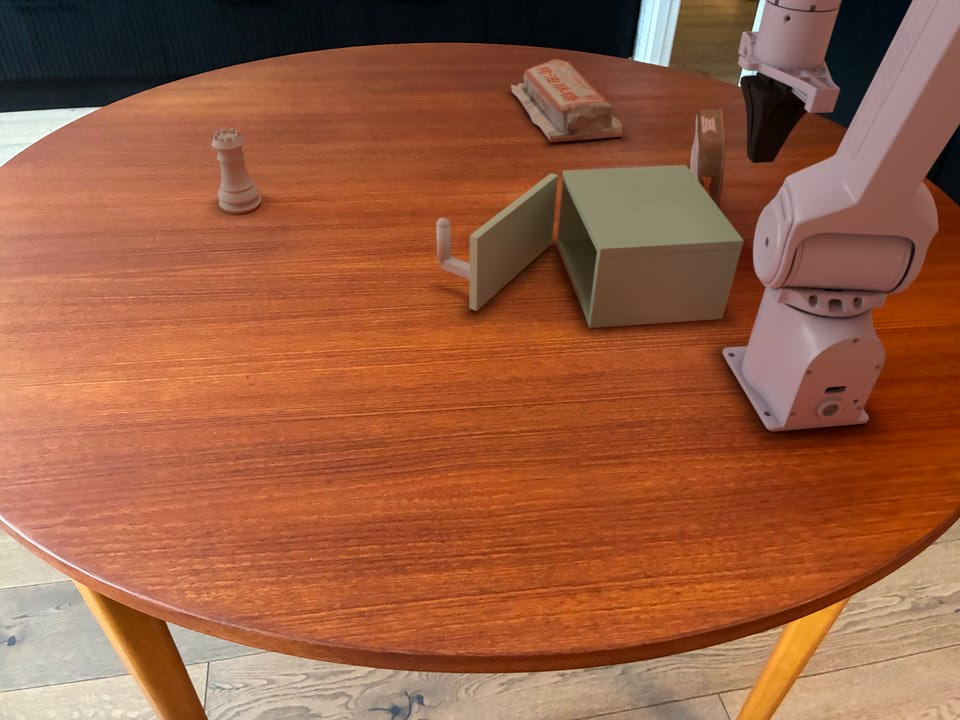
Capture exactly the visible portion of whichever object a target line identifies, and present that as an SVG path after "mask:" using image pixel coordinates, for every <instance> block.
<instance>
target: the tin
mask: <svg viewBox="0 0 960 720" xmlns="http://www.w3.org/2000/svg"><path fill="white" fill-rule="evenodd" d="M694 120H695V129H694V136H693V143H692V145H691V149H690V157H689V170H690V171H691V172H692V174H693V175H694V176H695V178H696V179H697V180H698V181H699V183H700V184H701V185H702V187H703V188H704V189H705V191H706V192H707V193H708V195H709V196H710V197H711V198H712V200H713V201H714V202H715V204H716V205H717V206H718V207H719V204H720V200H721V194H722V187H723V180H724V173H725V160H726V134H725V124H724V114H723V108H721V107H720V108H699V109H697V110H696V114H695V118H694Z"/></svg>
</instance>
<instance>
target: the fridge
mask: <svg viewBox="0 0 960 720" xmlns="http://www.w3.org/2000/svg"><path fill="white" fill-rule="evenodd" d="M560 185H561V186H560V195H559V196H560V197H559V207H558V219H557V229H556V241H555V246H556V247H557V250H558V253H559V255H560V257H561V260H562V262H563V265H564V267H565V270H566V273H567V274H568V278H569V281H570V282H571V284H572V287H573V290H574V292H575V294H576V297H577V300H578V301H579V302H578V303H579V305H580V307H581V310H582V312H583V315H584V318H585V321H586V322H587V325H588V327H589V329H598V328H599V329H600V328H612V327H627V326H640V325H641V326H643V325H655V324H658V325H659V324H672V323H685V322H699V321H714V320H722V319H724V318H723V317H724V314H725V310H726V306H727V303H728V299H729V296H730V292H731V288H732V284H733V281H734V278H735V274H736V270H737V266H738V262H739V260H740V256H741V253H742V252H741V251H742V248H743V245H744V239H743V238H742V236H741V234H739V232H738V231H737V230H736V228H735V227H734V226H733V224H732V223H731V222H730V220H729V219H728V218H727V217H726V215H725V214H724V212H723V211H722V210H721V209H720V207H719V205H718V206H717V205H716V204H715V202H714V201H713V200H712V198H711V197H710V196H709V195H708V193H707V192H706V191H705V189H704V188H703V187H702V185H701V184H700V183H699V181H698V180H697V179H696V178H695V176H694V175H693V174H692V172H691V171H690V167H688V166H687V165H686V164H675V165H671V164H670V165H651V166H650V165H649V166H629V167H609V168H588V169H586V168H585V169H567V170H566V169H565V170H562V175H561V184H560Z"/></svg>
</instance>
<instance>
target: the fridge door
mask: <svg viewBox="0 0 960 720" xmlns="http://www.w3.org/2000/svg"><path fill="white" fill-rule="evenodd" d="M558 180H559V175H558V174H555V173H552V172H550V173H549V174H547V176H545V177H543V179H541V180H540V181H539V182H537V183H536V184H535V185H534V186H532V187H530V189H528V190H527V191H526V192H524V193H523V194H522V195H520V196H519V197H518V198H516V199H515V200H513V202H511V203H510V204H508V205H507V206H506V207H505V208H503V209H502V210H501V211H500V212H498V213H497V214H496V215H494V216H493V217H492V218H490V219H489V220H488V221H486V222H485V223H484V224H483V225H481V226H480V227H479V228H478V229H476V230H475V231H473V233H471V234H470V235H469V262H467V261H464V260H462V259H459V258H457V257H454V256H451V222H450V220H449V219H448V218H447V217H440V218H438V219H437V220H436V223H435V228H436V230H435V231H436V260H437V263H438V264H439V265H440V269H441V270H443V271H446V272H449V273H451V274H454V275H456V276H459V277H462V278H463V279H467V280H469V293H468V294H469V295H468V296H469V298H468V299H469V300H468V301H469V302H468V303H469V305H468V306H469V309H470V310H473V311H475V312H478V310H480V309H481V308H482V307H484V305H485V304H486V303H487V302H489V301H490V300H492V298H493V297H494V296H496V295H497V294H498V293H499V292H500V291H501V290H502V289H503V288H504V287H505V286H507V284H509V283H510V282H511V281H512V280H513V279H514V278H515V277H516V276H517V275H519V274H520V273H521V272H522V271H523V270H524V269H525V268H527V266H529V265H530V264H531V263H532V262H533V261H534V260H536V259H537V257H539V256H540V255H541V254H542V253H544V251H545V250H546V249H548V248H549V247H550V246H551V245H552V244H553V238H554V225H555V215H556V204H557V193H558Z"/></svg>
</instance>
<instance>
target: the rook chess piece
mask: <svg viewBox="0 0 960 720" xmlns="http://www.w3.org/2000/svg"><path fill="white" fill-rule="evenodd" d="M212 136H213V139H212V141H211V144H210V145H211V146H212V148H213V149H214V150H215V151H217V156H216V160H217V161H218V162H219V166H220V177H221V178H220V179H221V181H220V183H219V188H218V190H217V198H218V206H219V208H221V209H222V210H223V211H225V212H227V213H230V214H234V215H235V214H236V215H237V214H246V213H250V212H252V211H254V210H256V209H257V208H258V207H259V206H260V204H261V202H262V196H261V195H260V189H259V187H258V185H257V184H256V183H254V180H253V178H251V176H250V174H249V172H248V169H247V167H246V166H247V165H246V162H245V156H246V154H245V152H244V151H243V149H242V148H243V146H244V144H245V142H246V141H245V139H244V137H242V136H241V134H240V131H239V129H237V130H236V129H235V128H231V127H230V128H229V132H227V129H226V128H220V131H219V130H215V131H214V132H213V135H212Z"/></svg>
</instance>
